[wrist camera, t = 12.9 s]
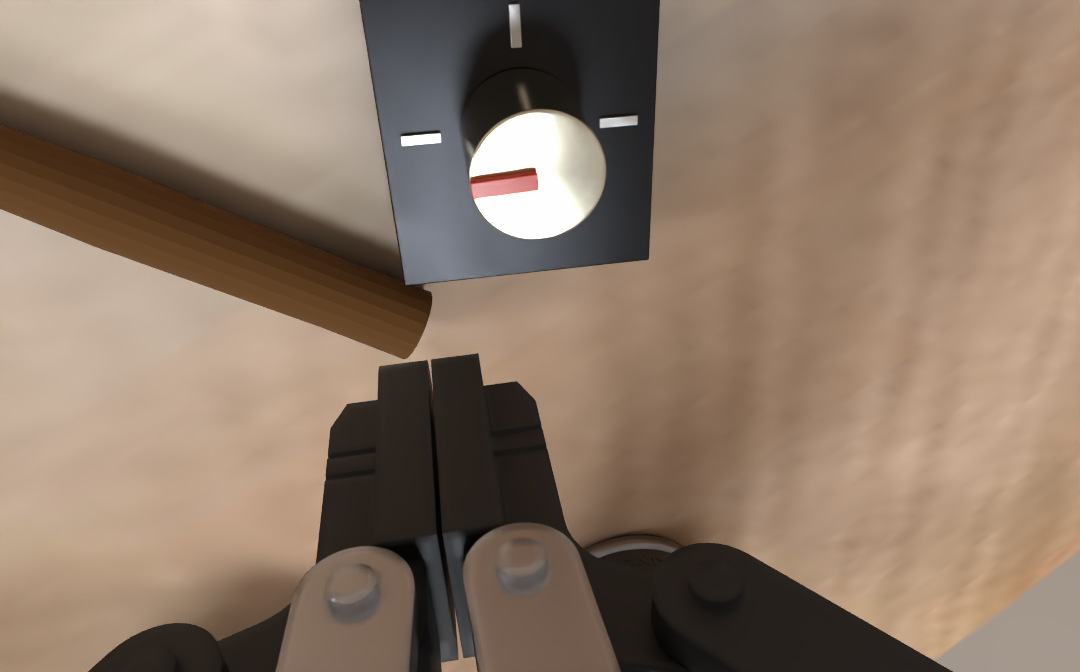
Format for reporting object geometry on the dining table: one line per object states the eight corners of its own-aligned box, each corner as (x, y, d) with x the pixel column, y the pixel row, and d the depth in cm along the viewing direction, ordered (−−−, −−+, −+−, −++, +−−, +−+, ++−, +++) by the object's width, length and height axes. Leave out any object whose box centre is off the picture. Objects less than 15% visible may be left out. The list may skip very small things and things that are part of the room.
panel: (631, 227, 35) (650, 262, 32) (404, 251, 34) (404, 288, 31) (640, -76, 28) (664, -63, 26) (356, -57, 27) (352, -42, 25)
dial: (577, 60, 28) (606, 103, 24) (583, 178, 30) (611, 235, 26) (451, 76, 27) (459, 122, 23) (468, 193, 30) (479, 254, 26)
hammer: (465, 226, 34) (-489, -236, 22) (470, 262, 31) (-608, -239, 19) (349, 417, 39) (-480, 125, 27) (345, 462, 36) (-574, 161, 24)
